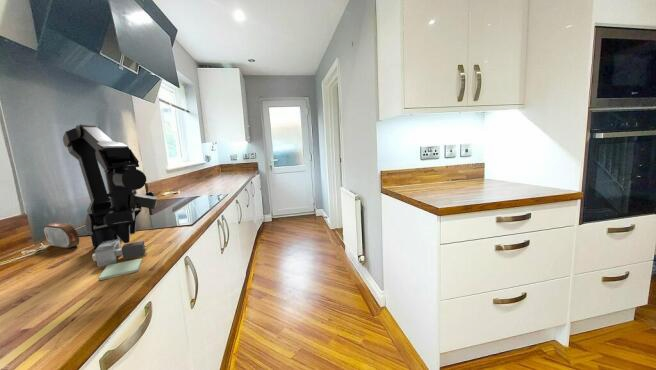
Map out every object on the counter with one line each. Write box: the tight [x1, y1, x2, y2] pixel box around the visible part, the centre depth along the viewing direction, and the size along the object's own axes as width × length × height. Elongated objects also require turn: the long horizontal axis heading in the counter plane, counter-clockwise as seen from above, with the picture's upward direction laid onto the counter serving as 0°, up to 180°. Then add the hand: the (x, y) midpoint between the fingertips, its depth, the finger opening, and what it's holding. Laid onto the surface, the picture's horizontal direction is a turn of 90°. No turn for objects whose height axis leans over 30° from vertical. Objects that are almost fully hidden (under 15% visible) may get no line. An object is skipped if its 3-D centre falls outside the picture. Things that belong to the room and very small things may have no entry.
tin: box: [42, 221, 80, 249], centre depth 88 cm, size 15×3×8 cm, turn 71°
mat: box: [98, 257, 143, 281], centre depth 69 cm, size 8×8×1 cm
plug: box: [91, 240, 148, 262], centre depth 77 cm, size 13×4×4 cm, turn 119°
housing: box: [94, 239, 122, 268], centre depth 75 cm, size 4×8×5 cm, turn 29°
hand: (130, 238), depth 77 cm, fingers open, 9 cm apart
